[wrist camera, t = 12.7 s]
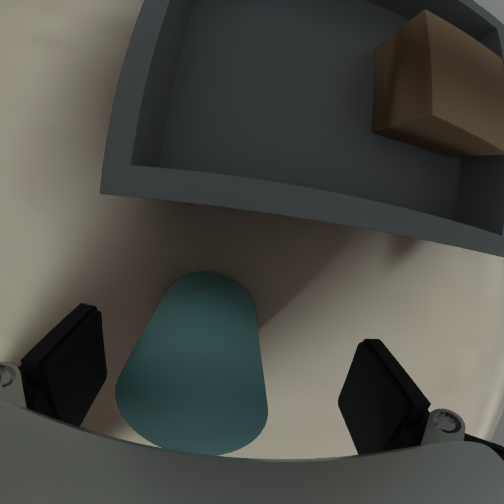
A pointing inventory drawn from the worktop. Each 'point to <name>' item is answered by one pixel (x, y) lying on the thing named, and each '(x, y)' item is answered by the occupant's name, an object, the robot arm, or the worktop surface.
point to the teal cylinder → (197, 370)
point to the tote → (292, 118)
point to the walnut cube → (439, 90)
